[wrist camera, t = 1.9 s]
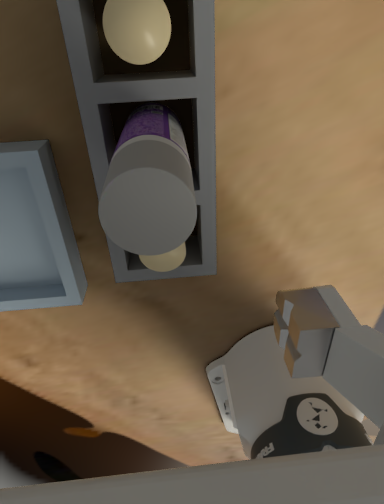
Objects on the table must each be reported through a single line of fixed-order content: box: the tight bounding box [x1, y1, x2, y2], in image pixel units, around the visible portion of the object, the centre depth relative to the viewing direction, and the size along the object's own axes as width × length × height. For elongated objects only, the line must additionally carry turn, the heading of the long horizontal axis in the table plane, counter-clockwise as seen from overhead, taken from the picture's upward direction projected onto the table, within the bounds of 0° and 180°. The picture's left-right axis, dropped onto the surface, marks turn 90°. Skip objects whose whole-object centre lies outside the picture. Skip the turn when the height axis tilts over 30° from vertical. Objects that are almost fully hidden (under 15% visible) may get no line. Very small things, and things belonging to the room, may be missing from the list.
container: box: [98, 102, 197, 256], centre depth 22 cm, size 5×5×15 cm
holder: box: [56, 0, 217, 283], centre depth 25 cm, size 22×9×7 cm, turn 3°
